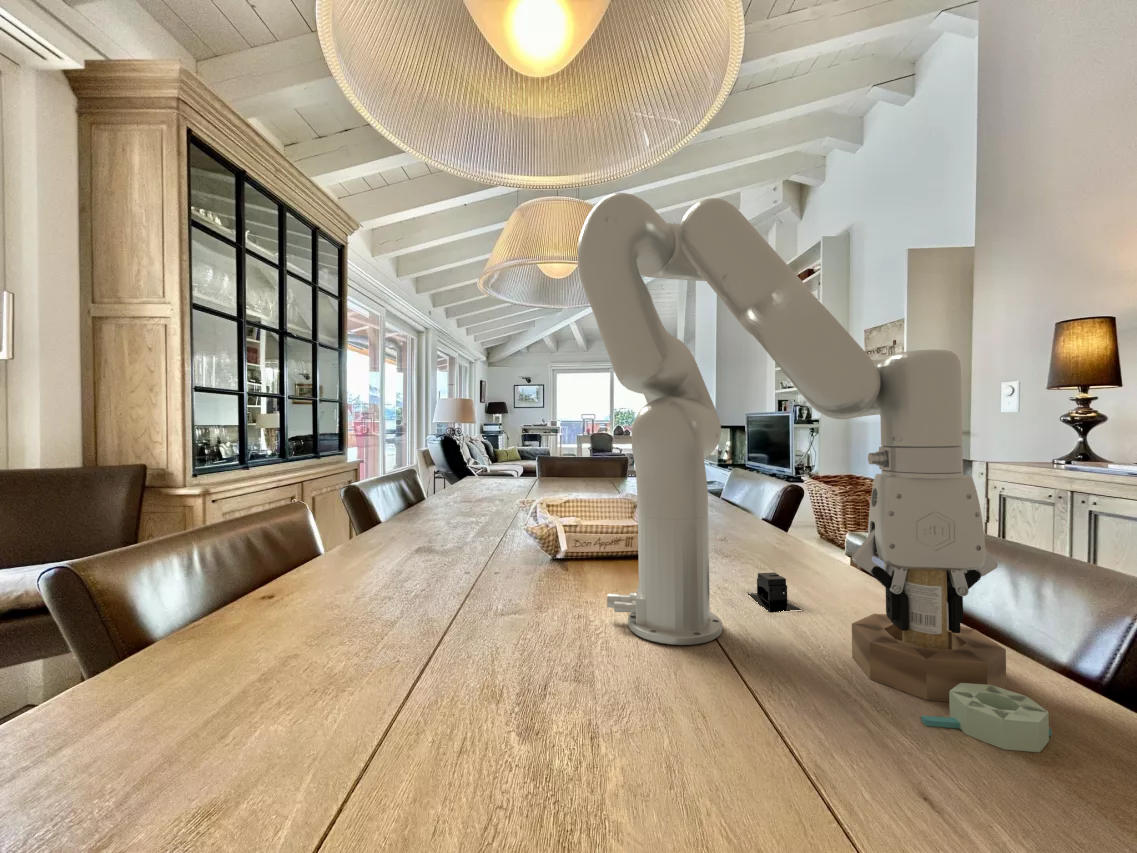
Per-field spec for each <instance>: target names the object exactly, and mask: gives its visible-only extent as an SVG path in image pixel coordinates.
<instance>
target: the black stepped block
mask: <svg viewBox="0 0 1137 853" xmlns="http://www.w3.org/2000/svg"><path fill="white" fill-rule="evenodd" d="M756 592H757V593H751V594H748V595H750V596H751V597H752V598H753V599H754V600H755V601H756V602H758V604H759V605H758V604H757V605H758V606H759V607H761V606H762V607H764V608H765V609H766V610H768V611H767V612H768V613H772V614H773V613H782V612H781V611H783V610H784V611H790V610H801V609H802V608H801V607H800V606H798V605H796V604H795V603H793V602H792V601H790V600H789V599H788V584H787V578H785V577H783V576H782V575H780V574H778V573H777V572H758V573H757V578H756ZM788 600H789V601H790V602H789V601H788ZM791 602H792V603H793V604H792V603H791ZM794 604H795V605H796V606H795V605H794ZM797 606H798V607H797ZM762 607H761V608H762ZM799 607H800V608H801V609H800V608H799ZM764 608H763V609H764ZM765 609H764V610H765ZM766 610H765V611H766ZM779 611H780V612H779Z"/></svg>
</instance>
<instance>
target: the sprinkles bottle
mask: <svg viewBox="0 0 1137 853" xmlns="http://www.w3.org/2000/svg"><path fill="white" fill-rule="evenodd" d="M946 571H947V570H929V569H907V573H906V578H905V582H904V586H903V590H904V593H905V594H906V595H908V599H909V630H907V631H902V641H903V642H907V643H910V644H913V645H917V646H920V647H923V648H935V649H949V643H948V630H949V613H948V602H947V573H946Z"/></svg>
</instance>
